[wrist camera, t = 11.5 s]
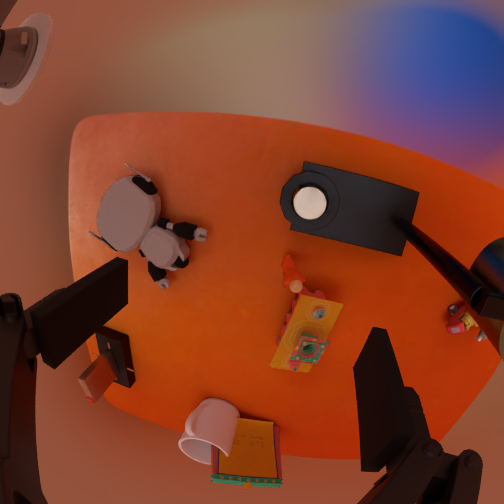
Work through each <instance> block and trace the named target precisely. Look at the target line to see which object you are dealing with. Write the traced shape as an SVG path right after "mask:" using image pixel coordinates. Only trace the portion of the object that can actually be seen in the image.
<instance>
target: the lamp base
mask: <svg viewBox="0 0 504 504" xmlns="http://www.w3.org/2000/svg"><path fill="white" fill-rule="evenodd" d="M307 185H313V186H316V187H318V188H319V189H321V190H322V192H323V193H324V195H325V198H326V209H325V211H324V213H323V214H322V215H321V216H320V217H318V218H316V219H312V220H308V219H304V218H302V217H300V216H299V215H298V214H297V213H296V211H295V209H294V205H293V201H292V198H293V193H294V191H295V190H296V189H297V188H298V187H299V189H300V188H302V187H304V186H307ZM299 189H298V190H299ZM418 197H419V192H417V191H414V190H411V189H408V188H405V187H402V186H399V185H395V184H392V183H389V182H385V181H382V180H378V179H375V178H371V177H367V176H364V175H360V174H356V173H352V172H348V171H345V170H340V169H336V168H332V167H328V166H324V165H319V164H315V163H310V162H306V161H304V163H303V169H302V172H301V173H298V174H294V175H293V176H292V177H291V178H290V180H289V181H288V182H287V183H286V184H285V185H284V186H283V188H282V193H281V198H280V205H281V208H282V211H283V214H284V217H285V218H286V219H287V220H288V221H289V222H291V227H290V230H294V231H298V232H302V233H307V234H311V235H316V236H320V237H324V238H328V239H333V240H337V241H341V242H345V243H349V244H353V245H357V246H362V247H366V248H370V249H374V250H378V251H382V252H386V253H390V254H394V255H397V256H402V253H403V250H404V247H405V244H406V240H407V239H406V238H405V237H404V236H403V235H402V234H401V233H400V232H398V231H397V230H396V228H395V221H396V220H397V219H398V218H400V217H403V218H405V219H406V220H408V221H409V222H410V223H412V220H413V216H414V212H415V209H416V205H417V201H418Z"/></svg>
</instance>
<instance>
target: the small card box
mask: <svg viewBox="0 0 504 504" xmlns="http://www.w3.org/2000/svg"><path fill="white" fill-rule="evenodd" d="M118 375H119V371H118V368H117V366H116V363H115V360H114V358H113V355H112V352H111V351H107V350H105V351H104V352H103V353H102V354H101V355H100V356H99V357H98V358H97V359H96V360H95V361H94V362H93V363H92V364H91V365H90V366H89V367H88V368H87V369H86V370H85V371H84V373H82V374H81V376H80V377H79V378H78V380H79V382H80V384H81V386H82V388H83V390H84V392H85V394H86V396H87V399H88V401H89V402H92V403H96V402H97V401H98V399H99V398H100V397H101V396H102V395H103V393H104V392H105V391H106V390H107V389H108V387H109V386H110V385H111V384H112V383H113V381H114V380H115V379H116V378H117V376H118Z"/></svg>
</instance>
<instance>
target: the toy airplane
mask: <svg viewBox="0 0 504 504" xmlns="http://www.w3.org/2000/svg"><path fill="white" fill-rule="evenodd" d="M448 311H449V312H450V313H451V314H452V318H451V320H450V321H449V322H448V324H447V325H446V328H447V331H448V333H450V334H459V333H462V332H464V331H465V330H469V328H470V327H471V326H473V325H475V327H478V325H477V323H476V322H475V321H474V319H473V318H472V317H471V316H470V314H469V313H468V311H467V308H466V305H463V306H462V307H460V308H459V309H458V310H457V307H456V305H451V306H449V308H448ZM475 338H478V339H477V340H478V341H481V340H482V339H485V340H486V338H487V336H486V335H485V334H484V332H483V331H482V330H481V328H480V332H479V334H478V337H475Z"/></svg>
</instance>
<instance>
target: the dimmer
mask: <svg viewBox="0 0 504 504" xmlns="http://www.w3.org/2000/svg"><path fill="white" fill-rule="evenodd" d="M95 334H96V338H97V343H98V348H99V352H100V355H101V354H102V353H103V352H104V351H105V350H107V351H111V352H112V355H113V358H114V360H115V363H116V366H117V368H118V371H119V375H118V376H117V378H116V379H115V380H114V381H113V382H116V383H118V384H120V385H123V386H125V387H128V388H131V386H132V385H133V384H134V382H135V375H134V370H133V364H132V358H131V351H130V345H129V338H128V335H126V334H123V333H121V332H118V331H115V330H112V329H110V328H107V327H105V326H102V327H101V328H100V329H98V330H97V331H96V332H95ZM93 355H95V356H97V357H99V356H98V355H96V354H94V353H93Z"/></svg>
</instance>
